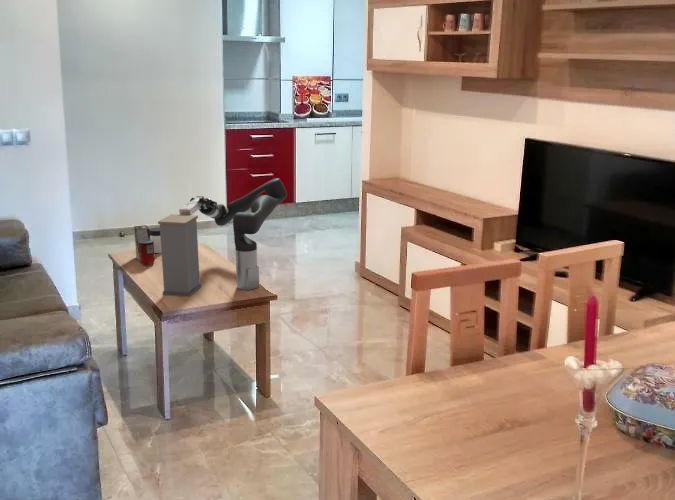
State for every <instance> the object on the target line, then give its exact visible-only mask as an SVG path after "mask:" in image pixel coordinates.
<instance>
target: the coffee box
mask: <svg viewBox="0 0 675 500" xmlns="http://www.w3.org/2000/svg"><path fill="white" fill-rule="evenodd" d="M150 229H151V228H149V227H148V226H147V225H145V224H144V225H143V224H141V225H136V226H135V225H134V226H133V231H134V242H135V243H134V244H135V254H136V255H135V256H136V259H137V260H138V261H139V262H140V254H139V241H140V240H142V239H150Z"/></svg>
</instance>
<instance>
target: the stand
mask: <svg viewBox="0 0 675 500" xmlns="http://www.w3.org/2000/svg"><path fill="white" fill-rule="evenodd" d="M198 218H199V215H195V214H193V215H180V214H169V215H168V216H165V217H164V218H162V219H160V220H158V221H157V224H158V225H159V228H160V236H161V251H162V254H161V263H162V278H163V290H162V295H163V296H174V297H191V296H192V295H193V294H194V293H196V292H197V291H198V290H199V289H200V288H201V287H202V283H201V281H200V264H199V263H200V262H199V243H198V228H197V224H198V223H197V219H198Z"/></svg>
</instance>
